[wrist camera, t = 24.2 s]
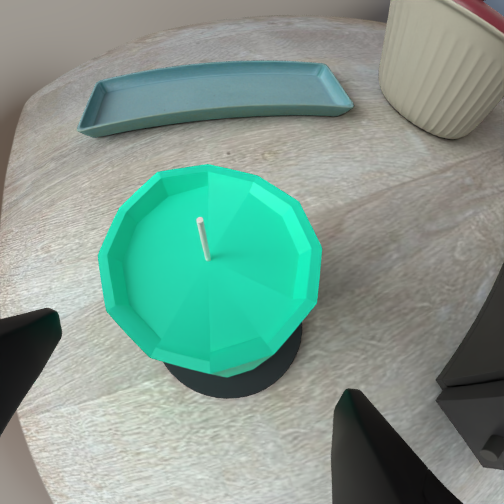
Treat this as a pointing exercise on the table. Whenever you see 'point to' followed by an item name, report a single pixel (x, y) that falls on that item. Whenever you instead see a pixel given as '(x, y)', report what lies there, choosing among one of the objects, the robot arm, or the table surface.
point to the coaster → (244, 381)
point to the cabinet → (480, 345)
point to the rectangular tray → (212, 95)
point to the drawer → (478, 418)
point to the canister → (443, 63)
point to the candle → (210, 268)
